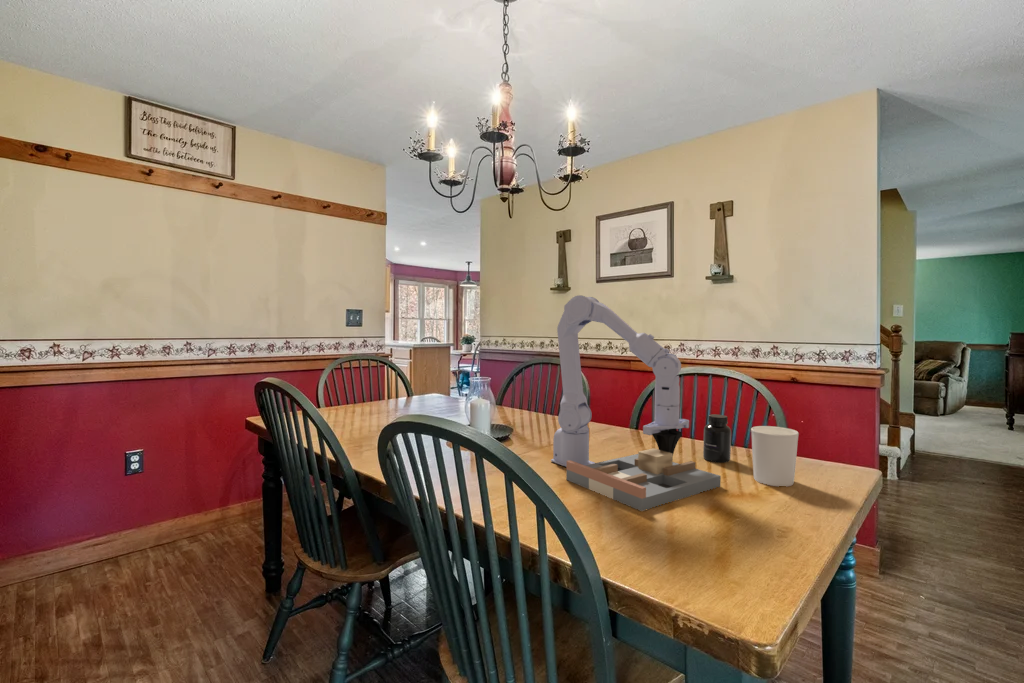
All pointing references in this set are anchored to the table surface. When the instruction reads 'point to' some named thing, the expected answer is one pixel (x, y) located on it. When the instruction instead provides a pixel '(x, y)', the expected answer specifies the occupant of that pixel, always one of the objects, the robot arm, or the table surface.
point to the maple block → (654, 460)
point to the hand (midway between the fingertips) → (666, 460)
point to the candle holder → (774, 455)
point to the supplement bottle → (717, 439)
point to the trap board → (641, 481)
